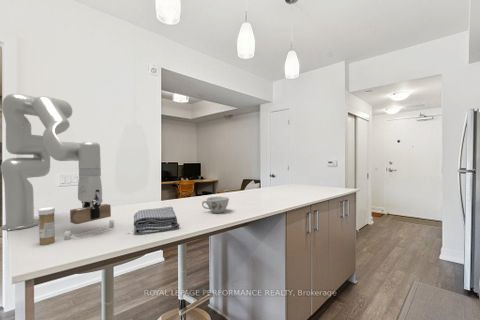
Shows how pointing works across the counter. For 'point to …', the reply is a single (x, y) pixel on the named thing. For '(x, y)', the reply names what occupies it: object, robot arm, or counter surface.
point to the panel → (89, 232)
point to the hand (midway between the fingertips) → (91, 217)
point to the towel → (155, 220)
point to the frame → (88, 214)
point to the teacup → (216, 204)
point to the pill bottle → (46, 225)
